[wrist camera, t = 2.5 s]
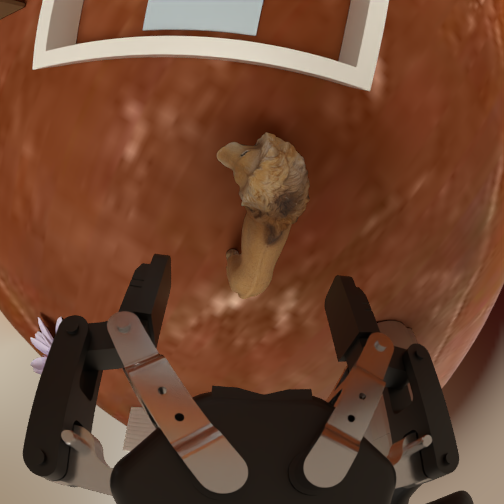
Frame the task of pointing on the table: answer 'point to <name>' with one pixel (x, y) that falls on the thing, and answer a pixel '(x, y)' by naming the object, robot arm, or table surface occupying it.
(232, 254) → the lion figurine
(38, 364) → the water lily
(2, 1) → the photo frame
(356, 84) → the low pen
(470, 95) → the table surface
